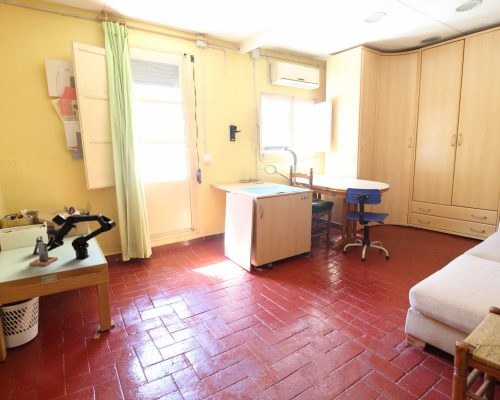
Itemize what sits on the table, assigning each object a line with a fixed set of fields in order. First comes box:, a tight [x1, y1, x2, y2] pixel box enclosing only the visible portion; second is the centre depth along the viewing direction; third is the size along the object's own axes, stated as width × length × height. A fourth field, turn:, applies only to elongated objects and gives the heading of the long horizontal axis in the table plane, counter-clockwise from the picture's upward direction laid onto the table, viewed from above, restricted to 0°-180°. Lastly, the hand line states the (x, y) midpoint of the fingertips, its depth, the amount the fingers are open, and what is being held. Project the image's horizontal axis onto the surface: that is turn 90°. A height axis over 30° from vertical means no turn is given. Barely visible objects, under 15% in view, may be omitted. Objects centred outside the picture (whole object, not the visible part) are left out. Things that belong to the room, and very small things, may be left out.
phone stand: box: [32, 235, 50, 257], centre depth 211 cm, size 9×6×12 cm, turn 118°
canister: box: [37, 241, 49, 263], centre depth 194 cm, size 5×5×13 cm
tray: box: [28, 256, 59, 267], centre depth 195 cm, size 11×11×2 cm
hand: (47, 249), depth 195 cm, fingers open, 9 cm apart
